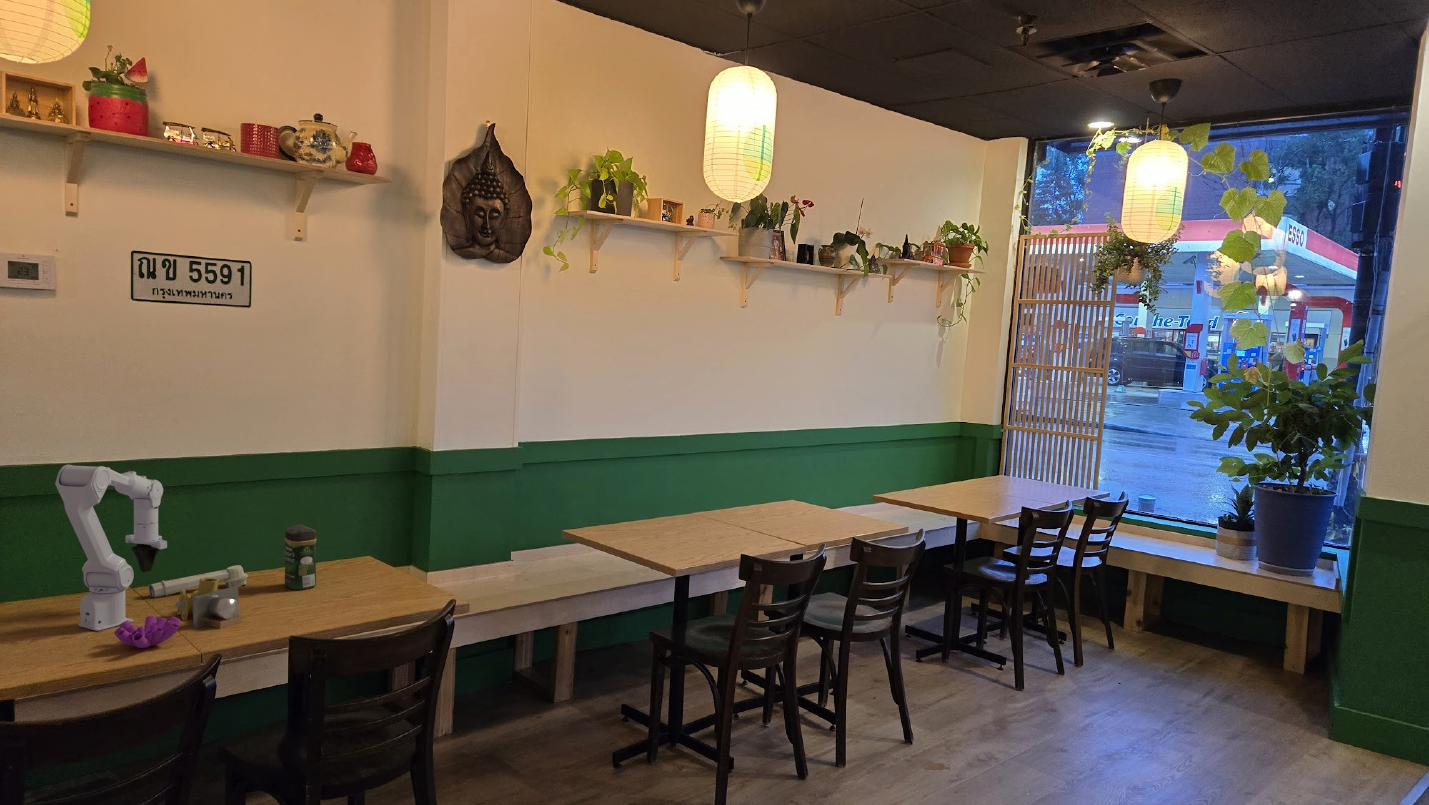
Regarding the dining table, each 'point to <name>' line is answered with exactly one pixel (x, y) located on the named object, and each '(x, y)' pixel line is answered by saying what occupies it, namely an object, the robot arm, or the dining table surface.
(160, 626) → the purple tube coral
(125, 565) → the robot arm
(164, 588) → the grey piece
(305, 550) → the coffee jar
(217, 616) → the fitting
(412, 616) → the dining table surface
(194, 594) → the ball valve
